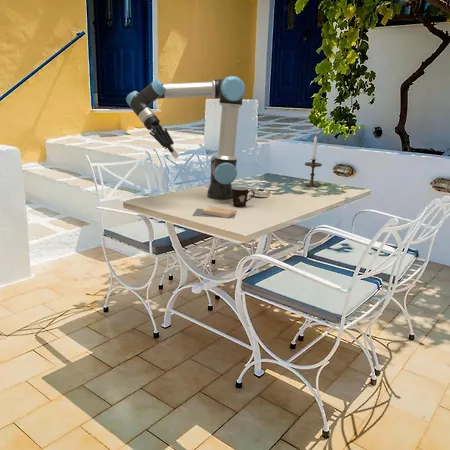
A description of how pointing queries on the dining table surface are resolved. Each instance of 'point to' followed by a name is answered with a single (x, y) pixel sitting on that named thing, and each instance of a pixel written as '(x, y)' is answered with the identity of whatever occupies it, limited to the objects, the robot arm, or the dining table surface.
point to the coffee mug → (240, 196)
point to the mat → (199, 213)
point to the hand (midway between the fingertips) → (177, 156)
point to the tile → (219, 212)
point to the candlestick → (313, 165)
